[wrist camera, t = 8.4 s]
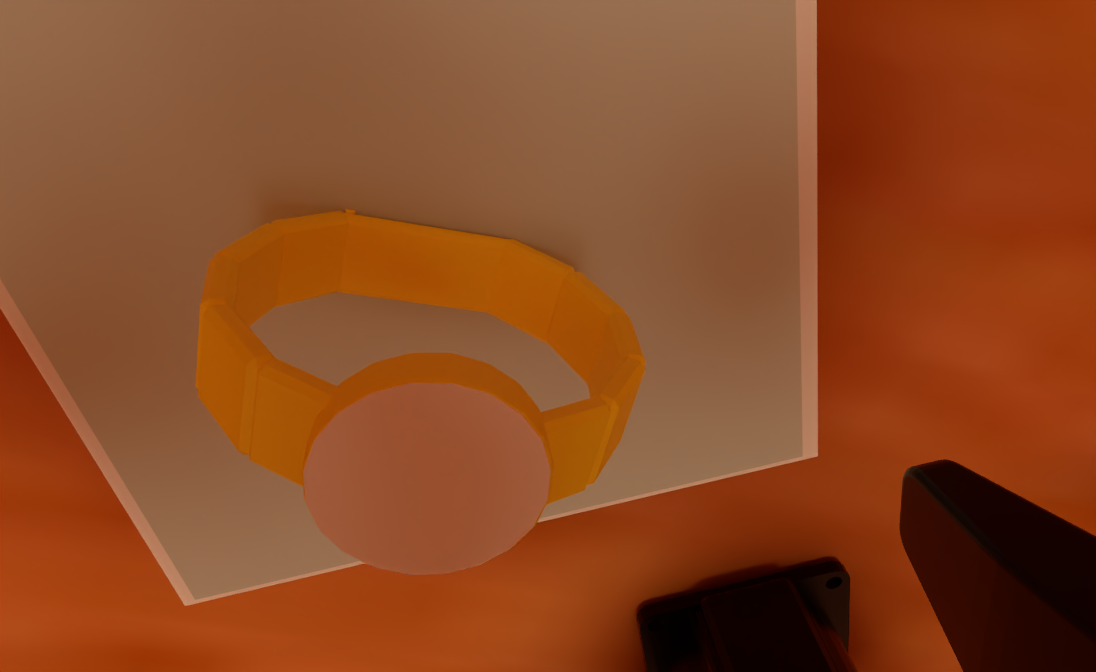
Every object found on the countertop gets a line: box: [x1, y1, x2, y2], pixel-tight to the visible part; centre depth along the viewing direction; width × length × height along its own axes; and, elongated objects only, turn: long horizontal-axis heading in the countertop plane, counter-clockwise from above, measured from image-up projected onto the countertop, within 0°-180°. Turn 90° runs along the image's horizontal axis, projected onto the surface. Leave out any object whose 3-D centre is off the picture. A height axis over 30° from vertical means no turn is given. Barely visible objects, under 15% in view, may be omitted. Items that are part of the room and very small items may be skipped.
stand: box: [0, 0, 818, 606], centre depth 16 cm, size 14×14×4 cm
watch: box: [195, 208, 646, 575], centre depth 12 cm, size 6×3×6 cm, turn 76°
